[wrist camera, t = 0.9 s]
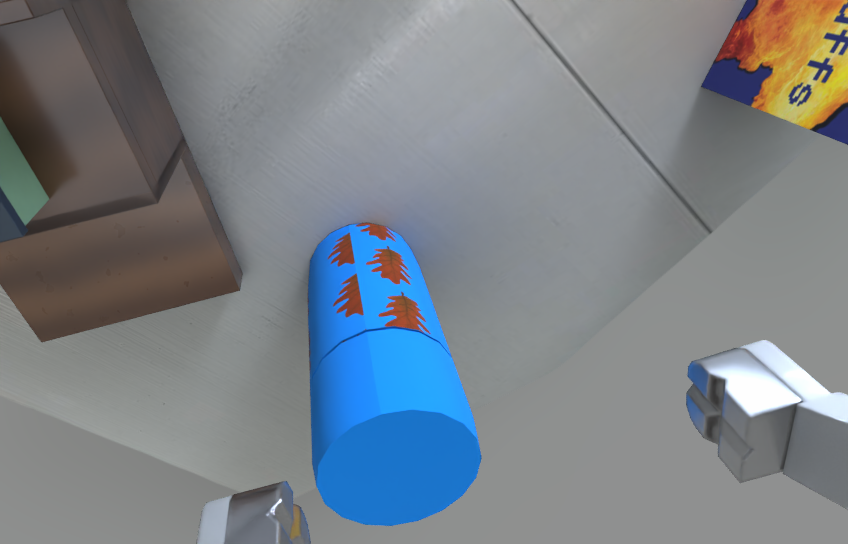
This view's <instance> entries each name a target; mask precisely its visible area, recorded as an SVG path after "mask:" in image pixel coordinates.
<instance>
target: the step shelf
mask: <svg viewBox="0 0 848 544" xmlns="http://www.w3.org/2000/svg"><path fill="white" fill-rule="evenodd" d="M0 117H1V119H2V120H3V122H4V124H5V125H6V127H7V129H8V130H9V132H10V134H11V135H12V137H13V139H14V140H15V142H16V144H17V145H18V147H19V149H20V150H21V152H22V154H23V155H24V157H25V159H26V161H27V162H28V164H29V166H30V167H31V169H32V171H33V172H34V174H35V176H36V177H37V179H38V181H39V182H40V184H41V186H42V187H43V189H44V191H45V192H46V194H47V196H48V197H49V200H48V201H47V202H46V204H45V205H44V206H43V207H42V208H41V209H40V210H39V211H38V212H37V213H36V215H35V216H34V217H33V218H32V219H31V220H30V221H29V222H28V223H27V224H26V228H27V229H28V232H27V233H26V234H25V235H24V236H23V237H20V238H16V239H12V240H8V241H4V242H0V285H1V286H2V287H3V289H4V290H5V292H6V293H7V295H8V296H9V297H10V299H11V300H12V302H13V303H14V304H15V306H16V307H17V309H18V310H19V311H20V313H21V314H22V316H23V317H24V318H25V320H26V321H27V323H28V324H29V325H30V327H31V328H32V330H33V331H34V332H35V334H36V335H37V337H38V338H39V340H40V341H41V342H45V341H48V340H52V339H56V338H60V337H64V336H68V335H71V334H75V333H79V332H83V331H87V330H91V329H94V328H98V327H102V326H106V325H110V324H113V323H117V322H121V321H125V320H129V319H133V318H136V317H140V316H144V315H148V314H152V313H156V312H159V311H163V310H167V309H171V308H175V307H178V306H182V305H186V304H190V303H194V302H198V301H201V300H205V299H209V298H213V297H217V296H221V295H224V294H228V293H232V292H236V291H240V287H241V280H242V271H241V269H240V267H239V264H238V262H237V260H236V257H235V255H234V253H233V250H232V248H231V246H230V243H229V241H228V239H227V236H226V234H225V232H224V229H223V227H222V225H221V222H220V220H219V218H218V215H217V213H216V211H215V209H214V206H213V204H212V202H211V199H210V197H209V195H208V192H207V190H206V188H205V185H204V183H203V181H202V178H201V176H200V174H199V171H198V169H197V167H196V164H195V162H194V160H193V157H192V155H191V153H190V150H189V148H188V146H187V143H186V141H185V139H184V136H183V134H182V132H181V129H180V127H179V125H178V122H177V120H176V118H175V115H174V113H173V111H172V108H171V106H170V104H169V101H168V99H167V97H166V94H165V92H164V90H163V87H162V85H161V83H160V81H159V78H158V76H157V74H156V71H155V69H154V67H153V64H152V62H151V60H150V57H149V55H148V53H147V50H146V48H145V46H144V43H143V41H142V39H141V36H140V34H139V32H138V29H137V27H136V25H135V22H134V20H133V18H132V15H131V13H130V11H129V8H128V6H127V4H126V1H125V0H0Z"/></svg>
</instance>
